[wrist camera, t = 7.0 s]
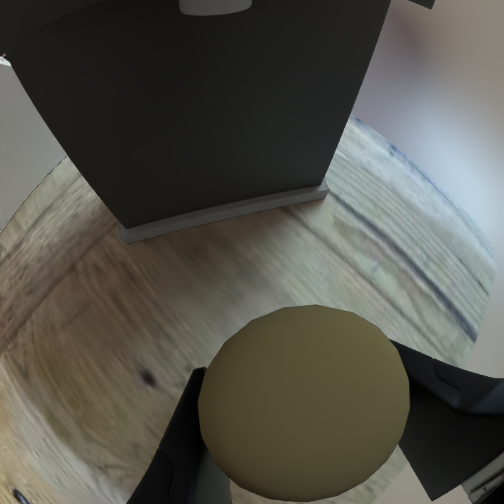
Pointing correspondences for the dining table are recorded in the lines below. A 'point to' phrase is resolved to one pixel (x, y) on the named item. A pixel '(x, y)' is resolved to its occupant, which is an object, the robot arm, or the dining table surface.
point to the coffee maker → (194, 98)
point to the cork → (304, 403)
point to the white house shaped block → (21, 145)
